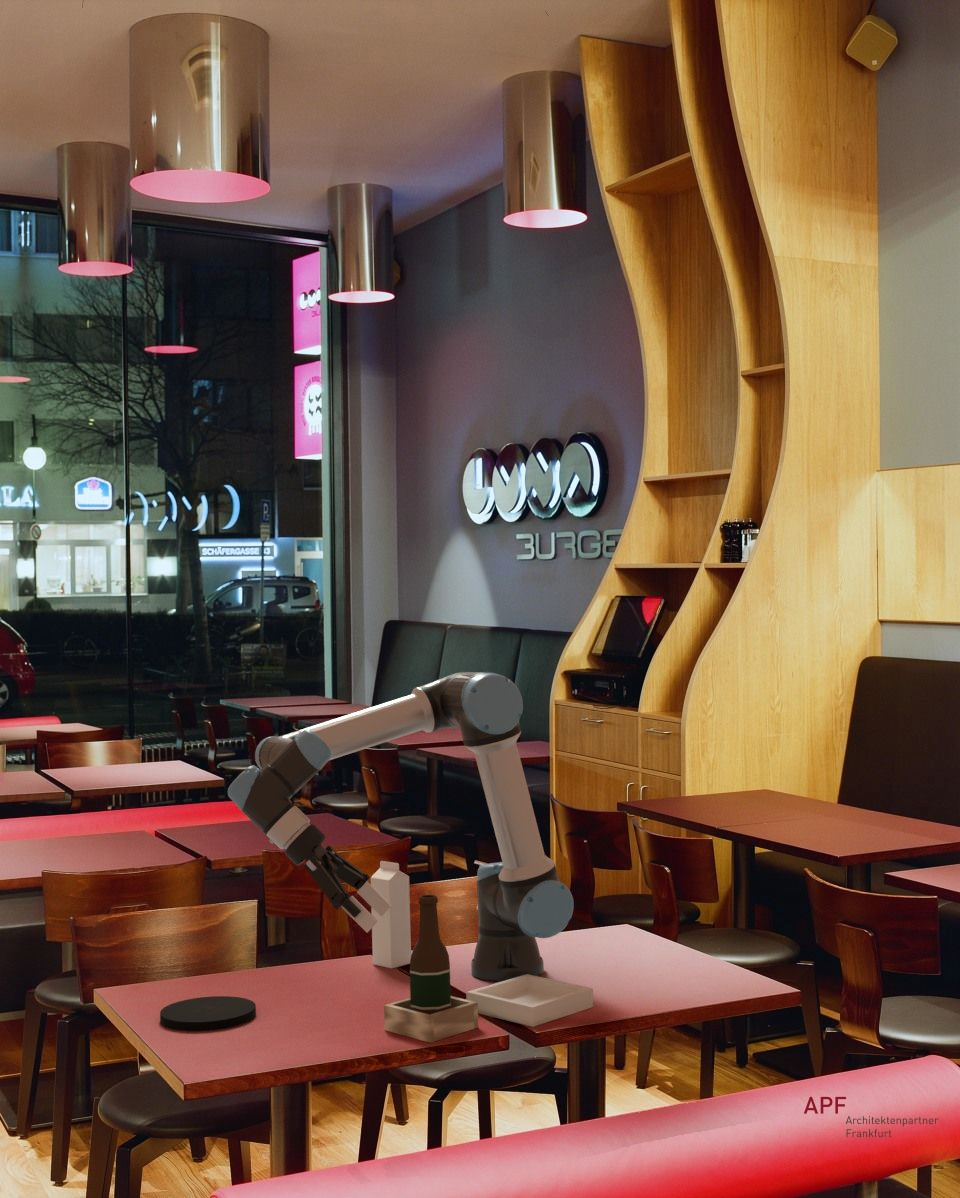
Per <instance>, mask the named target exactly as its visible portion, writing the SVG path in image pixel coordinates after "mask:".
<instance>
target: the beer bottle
mask: <svg viewBox="0 0 960 1198" xmlns="http://www.w3.org/2000/svg"><path fill="white" fill-rule="evenodd" d="M438 901H439V900H438V897H437V895H434V894H424V895H420V896H419V898H418V902H417V903H418V904H419V926H418V927H419V929H418V940H417V942H416V943H415V945H414V947H413V949H412V950H411V959H410V964H409V987H410V988H409V990H410V991H409V993H410V995H409V996H410V997H409V998H410V1000H411V1010H413V1011H417V1012H421V1013H425V1014H429V1015H430V1014H434V1013H437V1012H440V1011H444V1010H447V1009H450V1008H451V996H452V995H451V994H452V993H451V963H450V962H451V961H450V954H449V953H448V950H447V947H446V945H445V944H444V942H443V941H442V939H441V936H440V930H439V919H438V907H437V905H438Z"/></svg>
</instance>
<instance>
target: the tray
mask: <svg viewBox="0 0 960 1198" xmlns="http://www.w3.org/2000/svg"><path fill="white" fill-rule="evenodd" d="M465 994H466V995H465V997H466V998H465V1000H470V1001H474V1002H478V1015H484V1016H488V1017H491V1018H497V1019H501V1020H504V1021H507V1022H512V1023H516V1024H520V1025H523V1026H528V1027H532V1028H534V1027H538V1026H540V1025H543V1024H547V1023H548V1022H552V1021H555V1020H559V1019H561V1018H564V1017H568V1016H570V1015H573V1014H575V1013H579V1012H582V1011H585V1010H588V1009H592V1008H593V1007H594V988H593V987H588V986H586V985H585V986H584V985H579V984H574V983H570V982H565V981H561V980H556V979H552V978H545V977H543V976H542V977H541V976H533V975H529V974H526V975H522V976H519V977H516V978H512V979H509V980H505V981H497V982H495V983H492V984H488V985H486V986H482V987H479V988H475V989H474V988H473V989H471V990H469V991H465Z"/></svg>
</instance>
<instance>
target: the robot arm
mask: <svg viewBox="0 0 960 1198" xmlns="http://www.w3.org/2000/svg"><path fill="white" fill-rule="evenodd" d="M521 694H522V693H521V692H520V689H519V688H518V687H517V685H516V684H515V683H514V682H513V681H512V680H511V679H509V678H508V677H507V676H505V675H502V674H499V673H496V672H492V671H484V672H483V671H481V672H480V671H478V672H477V671H475V672H474V671H460V672H456V673H452V674H449V675H447V676H445V677H442V678H439V679H436V680H434V681H432V682H429V683H426V684H423V685H420V686H417V687H414V688H413V689H412V691H411V694H408V695H406V696H402V697H399V698H396V699H393V700H390V701H386V702H383V703H380V704H378V705H374V706H370V707H368V708H364V709H362V710H359V711H356V712H352V713H349V714H346V715H343V716H340V717H337V718H333V719H330V720H327V721H324V722H321V723H318V724H315V725H311V726H307V727H305V728H303V729H299V730H297V731H292V732H290V733H287V734H283V735H280V736H279V735H272V736H268V737H265V738H263V739H262V740H260V742H259V743H258V745H257V746H256V749H255V753H254V759H255V760H254V761H255V763H256V765H257V766H256V765H249V766H248V767H247V768H246V769H244V770H243V771H241V773H239V774H238V776H237V777H236V778H235V779H234V780H233V781H232V783H230V785H229V787H228V788H227V796H228V798H229V799H230V800H231V801H232V802H233V803H234V804H235V805H236V806H237V807H238V809H239V810H240V812H242V813H243V814H244V815H245V816H246V818H248V819H249V820H250V821H251V822H252V823H253V824H254V825H255V826H256V827H257V828H258V829H259V830H260V831H261V832H263V833H264V834H265V835H266V836H267V837H268V838H269V839H268V842H269V843H270V844H274V845H276V846H277V847H278V849H280V850H285V851H284V855H285V856H286V857H287V858H288V859H289V860H290V861H291V862H292V863H293V864H295V866H300V865H302V864H303V863H304V862H305V861H306V862H305V863H304V864H303V869H304V870H305V871H306V872H307V873H308V874H309V875H310V876H311V878H312V879H313V880H314V881H315V883H316V885H318V887H319V889H320V890H321V891H322V892H323V893H324V895H325V896H326V898H327V899H328V900H329V901H330V902H329V903H331V904H332V906H333V908H334V909H335V910H336V911H338V910H339V909H340V908H342V909H343V910H344V912H345V913H346V914H347V915H348V916H349V917H350V918H352V920H353V921H355V923H356V924H358V926H359V927H361V928H362V930H364V932H366V933H369V932H370V931H371V930H372V927H373V926H374V925H375V924H376V923H377V922H378V921H377V920H376V919H375V918H374V917H373V916H372V913H371V912H370V911H368V910H367V908H366V907H365V906H363V905H362V903H361V902H359V901H358V899H357V898H355V896H353V895H351V896H350V895H349V892H348V890H347V888H345V886H344V884H343V883H345V884H348V886H350V887H351V888H354V889H355V890H357V891H356V893H357V894H358V895H359V896H360V897H361V898H362V899H363V900H364V901H365V902H366V903H367V904H368V905H369V906H370V907H372V908H373V909H374V910H375V911H376V912H377V913H378V914H379V915H380V916H381V917H382V916H383V915H384V914H385V913H386V912H387V910H388V909H389V908H390V907H391V906H392V905H391V904H390V903H389V902H388V901H387V900H386V899H385V898H384V897H383V896H382V895H381V894H380V893H379V892H378V891H377V890H376V889H375V888H374V887H373V886H372V885H371V882H369V880H370V879H371V877H370V876H369V875H368V874H367V873H365V872H364V871H362V870H361V869H359V868H358V867H357V866H355V865H354V864H352V862H350V861H349V860H347V859H346V858H345V857H344V856H342V855H341V854H340V853H338V852H337V851H336V850H335V849H334V848H333V847H332V846H331V845H329V844H328V845H326V847H323V846H322V844H323V843H324V841H325V840H326V838H327V835H326V834H325V833H324V832H323V831H322V830H321V829H320V828H319V827H318V826H317V825H316V824H313V823H311V824H310V822H311V819H310V818H309V817H308V816H307V815H306V814H305V813H303V811H302V810H301V809H300V808H298V807H297V805H295V804H294V803H293V802H292V800H291V799H292V797H294V796H295V795H296V794H297V793H298V792H299V791H300V789H302V788H303V787H304V786H305V785H307V783H308V782H309V781H311V779H312V778H313V777H315V775H316V774H317V773H319V771H322V769H323V768H324V767H325V765H326V764H327V763H328V762H329V761H331V760H334V759H338V758H341V757H343V756H346V755H350V754H352V753H356V752H360V751H362V750H365V749H368V748H371V747H374V746H378V745H380V744H381V745H382V744H384V743H386V742H390V741H393V740H396V739H398V738H403V737H405V736H408V735H412V734H414V733H417V732H421V731H423V732H425V733H427V734H429V733H433V732H436V731H439V730H446V729H459V730H460V735H461V737H462V742H463V745H464V748H466V749H467V750H469V751H471V752H473V754H474V758H475V761H476V765H477V768H478V772H479V777H480V779H481V784H482V789H483V792H484V795H485V799H486V804H487V807H488V811H489V814H490V818H491V824H492V826H493V829H494V834H495V838H496V842H497V845H498V850H499V853H500V857H501V861H499V862H491V863H487V864H484V865H479V867H478V869H477V875H476V877H477V878H476V886H477V888H476V890H477V904H478V910H477V913H478V914H477V916H478V938H477V942H476V946H475V948H474V950H475V951H474V954H473V955H474V956H473V958H471V959H472V960H471V964H470V965H471V975H472V976H473V977H475V978H477V979H481V980H485V981H493V982H502V981H505V980H509V979H512V978H516V977H519V976H522V975H526V974H529V975H533V976H538V977H541V975H542V974H544V970H545V969H544V968H545V967H544V964H545V963H544V959H543V957H542V956H541V953H540V950H539V949H540V948H539V945H538V942H537V939H536V938H539V939H548V938H552V937H554V936H557V935H558V934H560V933H561V932H562V931H564V929H565V928H566V927H567V926H568V924H569V922H570V920H571V919H572V916H573V914H574V913H573V912H574V907H575V905H574V904H575V903H574V896H573V895H572V892H571V890H570V889H569V888H568V887H567V886H566V884H564V882H562V881H560V878H559V875H558V871H557V866H556V863H555V861H554V860H553V859H552V858H549V857H548V856H547V855H546V854H545V851H544V847H543V843H542V840H541V839H542V838H541V836H540V831H539V827H538V823H537V819H536V815H535V812H534V808H533V805H532V804H533V803H532V800H531V796H530V791H529V788H528V783H527V779H526V775H525V772H524V767H523V764H522V760H521V757H520V756H521V755H520V753H519V749H518V746H517V741H518V739H519V737H520V735H521V734H522V730H521V725H520V719H521V716H522V714H523V710H524V704H523V703H524V701H523V697H522V695H521Z"/></svg>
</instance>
